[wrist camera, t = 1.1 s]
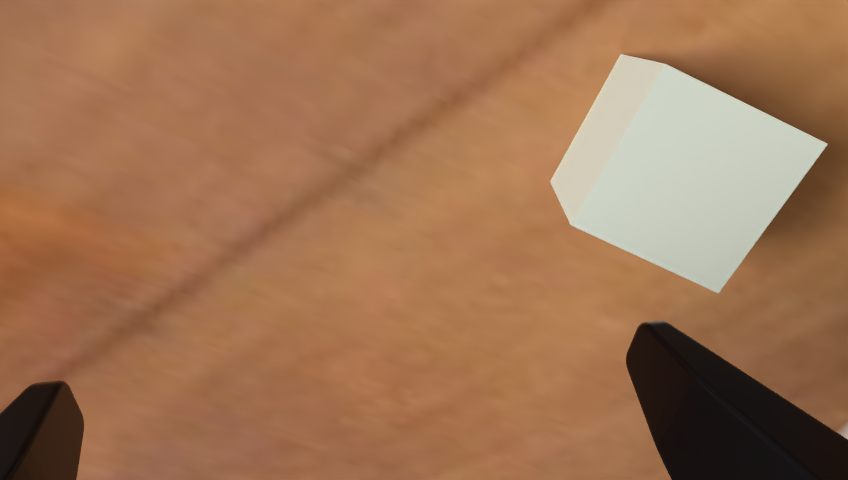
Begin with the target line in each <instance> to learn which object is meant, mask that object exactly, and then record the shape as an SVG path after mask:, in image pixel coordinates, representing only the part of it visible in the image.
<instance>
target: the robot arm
mask: <svg viewBox="0 0 848 480" xmlns="http://www.w3.org/2000/svg"><path fill="white" fill-rule="evenodd" d="M626 364H627V368H628V371H629V374H630V377H631V380H632V382H633V385H634V388H635V391H636V393H637V396H638V399H639V402H640V404H641V407H642V410H643V413H644V415H645V418H646V421H647V424H648V426H649V429H650V432H651V435H652V437H653V440H654V442H655V445H656V447H657V450H658V452H659V454H660V456H661V458H662V460H663V463H664V465H665V467H666V469H667V471H668V473H669V475H670V477H671V479H672V480H848V440H847V439H846V438H844V437H843V436H841V435H840V434H838V433H837V432H835V431H834V430H832V429H831V428H829V427H827V426H826V425H824V424H823V423H821V422H820V421H818V420H817V419H815V418H814V417H812V416H811V415H809V414H807V413H806V412H804V411H803V410H801V409H800V408H798V407H797V406H795V405H794V404H792V403H790V402H789V401H787V400H786V399H784V398H783V397H781V396H780V395H778V394H777V393H775V392H774V391H772V390H770V389H769V388H767V387H766V386H764V385H763V384H761V383H760V382H758V381H757V380H755V379H754V378H752V377H750V376H749V375H747V374H746V373H744V372H743V371H741V370H740V369H738V368H737V367H735V366H733V365H732V364H730V363H729V362H727V361H726V360H724V359H723V358H721V357H720V356H718V355H717V354H715V353H713V352H712V351H710V350H709V349H707V348H706V347H704V346H703V345H701V344H700V343H698V342H697V341H695V340H693V339H692V338H690V337H689V336H687V335H686V334H684V333H683V332H681V331H680V330H678V329H676V328H675V327H673V326H672V325H670V324H669V323H667V322H664V321H654V322H645V323H642V324H641V325H639V326H638V328H637V330H636V333H635V335H634V338H633V340H632V342H631V345H630V347H629V349H628V352H627V356H626ZM83 432H84V420H83V416H82V413H81V411H80V409H79V406H78V404H77V402H76V400H75V398H74V396H73V393H72V391H71V389H70V387H69V385H68V384H67V383H66V382H64V381H52V382H41V383H35V384H32V385H31V386H29V387H28V388H26V389H25V390H24V391H23V392H22V393H21V394H20V395H19V396H18V397H17V398H16V399H15V400H14V401H13V402H12V403H11V404H10V405H9V406H8V407H7V408H6V409H5V410H4V411H3V412H1V413H0V480H76V478H77V472H78V465H79V459H80V452H81V446H82V439H83Z"/></svg>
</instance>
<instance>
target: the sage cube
mask: <svg viewBox="0 0 848 480" xmlns="http://www.w3.org/2000/svg"><path fill="white" fill-rule="evenodd" d="M827 145H828V144H827V143H825V142H823V141H821V140H819V139H817V138H815V137H813V136H811V135H809V134H807V133H805V132H803V131H801V130H799V129H797V128H795V127H793V126H791V125H788V124H786V123H784V122H782V121H780V120H778V119H776V118H774V117H772V116H770V115H768V114H766V113H764V112H762V111H760V110H758V109H756V108H754V107H752V106H750V105H748V104H746V103H744V102H742V101H740V100H738V99H736V98H734V97H732V96H730V95H728V94H726V93H724V92H722V91H720V90H717V89H715V88H713V87H711V86H709V85H707V84H705V83H703V82H701V81H699V80H697V79H695V78H693V77H691V76H689V75H687V74H685V73H683V72H681V71H679V70H677V69H675V68H673V67H671V66H669V65H667V64H664V63H659V62H655V61H650V60H646V59H641V58H637V57H632V56H628V55H623V54H621V55H620V57H619V59H618V60H617V62H616V64H615V66H614V68H613V69H612V71H611V73H610V75H609V77H608V78H607V80H606V82H605V84H604V86H603V87H602V89H601V91H600V93H599V95H598V96H597V98H596V100H595V102H594V104H593V105H592V107H591V109H590V111H589V113H588V114H587V116H586V118H585V120H584V122H583V123H582V125H581V127H580V129H579V131H578V132H577V134H576V136H575V138H574V140H573V141H572V143H571V145H570V147H569V149H568V150H567V152H566V154H565V156H564V158H563V159H562V161H561V163H560V165H559V167H558V168H557V170H556V172H555V174H554V176H553V177H552V179H551V181H550V182H551V184H552V187H553V189H554V191H555V193H556V195H557V197H558V199H559V201H560V203H561V206H562V208H563V210H564V212H565V214H566V216H567V218H568V220H569V222H570V224H571V226H574V227H576V228H578V229H580V230H582V231H584V232H587V233H589V234H591V235H593V236H595V237H597V238H600V239H602V240H604V241H606V242H608V243H610V244H613V245H615V246H617V247H619V248H621V249H623V250H626V251H628V252H630V253H632V254H634V255H636V256H639V257H641V258H643V259H645V260H647V261H649V262H652V263H654V264H656V265H658V266H660V267H662V268H665V269H667V270H669V271H671V272H673V273H675V274H678V275H680V276H682V277H684V278H686V279H688V280H691V281H693V282H695V283H697V284H699V285H701V286H704V287H706V288H708V289H710V290H712V291H714V292H717V293H719V292H720V291H721V289H722V288H723V286H724V285H725V284H726V282H727V281H728V280H729V278H730V277H731V276H732V274H733V273H734V271H735V270H736V269H737V267H738V266H739V265H740V263H741V262H742V261H743V259H744V258H745V256H746V255H747V254H748V252H749V251H750V250H751V248H752V247H753V246H754V244H755V243H756V241H757V240H758V239H759V237H760V236H761V235H762V233H763V232H764V231H765V229H766V228H767V226H768V225H769V224H770V222H771V221H772V220H773V218H774V217H775V216H776V214H777V213H778V211H779V210H780V209H781V207H782V206H783V205H784V203H785V202H786V201H787V199H788V198H789V196H790V195H791V194H792V192H793V191H794V190H795V188H796V187H797V186H798V184H799V183H800V181H801V180H802V179H803V177H804V176H805V175H806V173H807V172H808V171H809V169H810V168H811V166H812V165H813V164H814V162H815V161H816V160H817V158H818V157H819V155H820V154H821V153H822V151H823V150H824V149H825V147H826V146H827Z"/></svg>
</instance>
